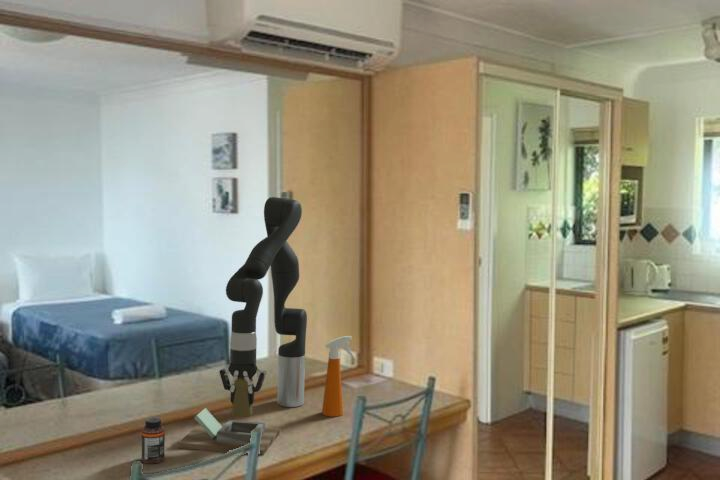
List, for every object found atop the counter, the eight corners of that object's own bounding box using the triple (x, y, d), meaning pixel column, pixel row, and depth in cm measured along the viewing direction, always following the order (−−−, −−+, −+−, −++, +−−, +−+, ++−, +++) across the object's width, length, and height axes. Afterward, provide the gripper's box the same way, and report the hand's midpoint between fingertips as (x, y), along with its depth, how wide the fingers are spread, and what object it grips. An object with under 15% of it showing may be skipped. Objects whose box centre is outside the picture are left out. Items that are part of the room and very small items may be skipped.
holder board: (201, 427, 218) (201, 412, 218) (279, 433, 215) (280, 418, 215) (178, 447, 201) (178, 432, 200) (263, 455, 197) (263, 439, 197)
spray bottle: (354, 417, 233) (357, 338, 231) (322, 416, 232) (324, 337, 230) (353, 410, 240) (355, 333, 238) (321, 410, 239) (323, 333, 237)
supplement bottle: (144, 455, 194) (144, 415, 193) (166, 455, 194) (166, 415, 194) (139, 464, 188) (139, 422, 187) (162, 464, 188) (162, 422, 188)
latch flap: (202, 410, 211) (205, 407, 211) (221, 431, 211) (224, 429, 210) (194, 417, 204) (196, 415, 204) (213, 439, 204) (216, 437, 204)
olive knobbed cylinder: (248, 417, 202) (249, 380, 201) (228, 415, 203) (229, 378, 203) (255, 411, 208) (256, 374, 207) (236, 409, 209) (236, 373, 208)
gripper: (270, 345, 207) (269, 402, 208) (224, 342, 209) (222, 399, 210) (263, 350, 200) (262, 410, 201) (215, 347, 202) (214, 406, 203)
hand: (242, 404), depth 206 cm, fingers closed on olive knobbed cylinder, 4 cm apart
